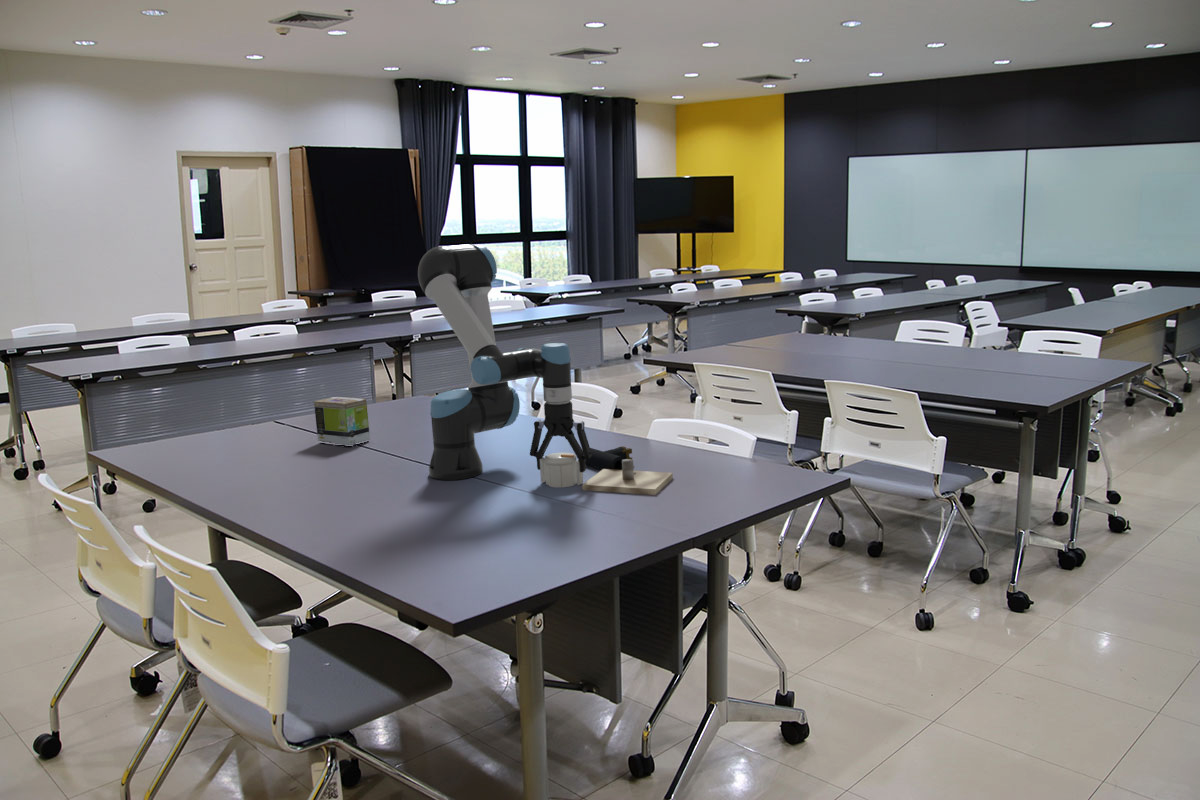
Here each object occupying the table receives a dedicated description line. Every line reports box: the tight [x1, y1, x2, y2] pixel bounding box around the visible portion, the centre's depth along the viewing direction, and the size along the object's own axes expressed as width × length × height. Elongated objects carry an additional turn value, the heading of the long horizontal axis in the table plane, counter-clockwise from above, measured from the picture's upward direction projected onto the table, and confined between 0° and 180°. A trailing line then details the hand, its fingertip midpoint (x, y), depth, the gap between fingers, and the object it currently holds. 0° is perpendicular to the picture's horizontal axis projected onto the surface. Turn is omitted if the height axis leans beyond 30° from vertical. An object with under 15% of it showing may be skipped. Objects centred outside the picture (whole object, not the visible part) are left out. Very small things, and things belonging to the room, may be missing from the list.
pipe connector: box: [585, 446, 633, 470], centre depth 274 cm, size 12×5×15 cm
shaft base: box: [581, 458, 674, 496], centre depth 254 cm, size 20×16×6 cm
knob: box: [544, 451, 577, 488], centre depth 258 cm, size 8×8×8 cm
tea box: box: [313, 396, 371, 445], centre depth 316 cm, size 15×10×15 cm
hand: (562, 482), depth 258 cm, fingers open, 10 cm apart
